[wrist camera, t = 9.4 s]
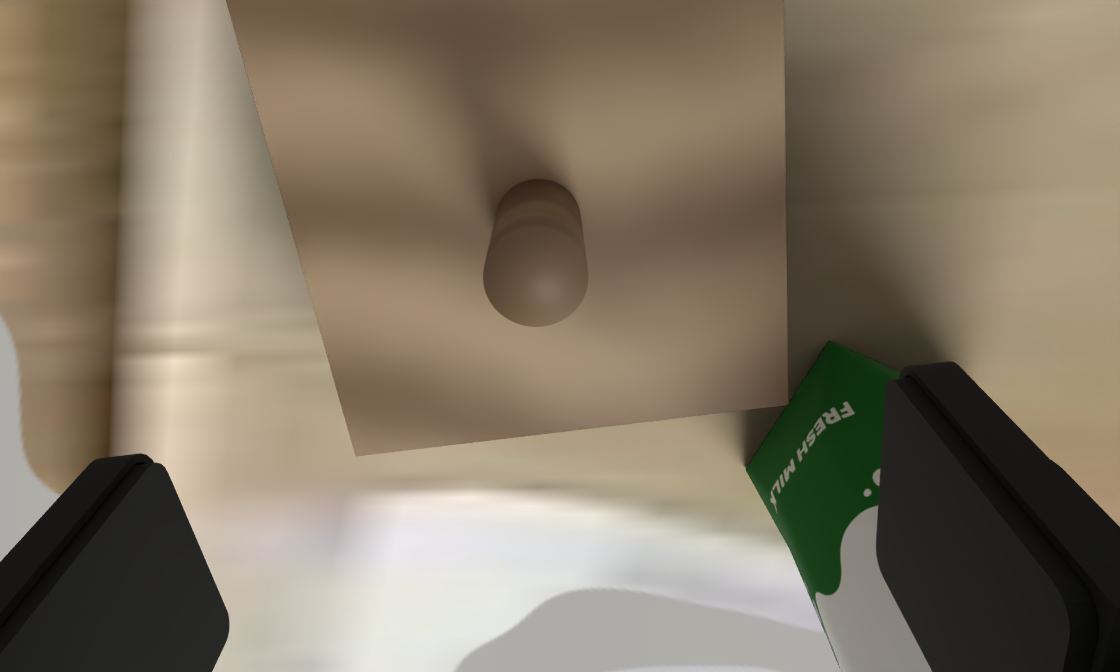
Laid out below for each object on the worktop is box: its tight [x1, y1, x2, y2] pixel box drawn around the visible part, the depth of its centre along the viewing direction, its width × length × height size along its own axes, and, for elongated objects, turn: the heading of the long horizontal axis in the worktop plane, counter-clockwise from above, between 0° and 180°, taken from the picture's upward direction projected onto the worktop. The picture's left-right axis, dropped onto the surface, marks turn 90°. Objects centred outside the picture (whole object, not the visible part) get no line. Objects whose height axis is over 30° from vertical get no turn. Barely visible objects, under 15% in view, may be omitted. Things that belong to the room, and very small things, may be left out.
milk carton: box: [746, 341, 932, 672], centre depth 25 cm, size 9×9×20 cm
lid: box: [226, 0, 788, 456], centre depth 22 cm, size 15×15×6 cm
